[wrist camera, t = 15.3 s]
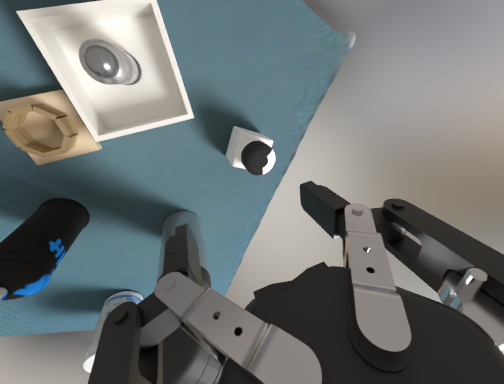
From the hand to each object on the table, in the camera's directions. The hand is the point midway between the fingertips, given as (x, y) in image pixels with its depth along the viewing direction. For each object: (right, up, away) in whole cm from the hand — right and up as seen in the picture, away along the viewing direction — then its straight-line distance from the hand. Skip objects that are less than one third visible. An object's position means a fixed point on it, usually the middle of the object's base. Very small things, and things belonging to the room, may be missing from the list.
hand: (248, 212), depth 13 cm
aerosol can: (-38, -3, +27) cm, 47 cm away
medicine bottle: (-2, +12, +32) cm, 35 cm away
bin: (-21, +21, +20) cm, 36 cm away
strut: (-21, +22, +19) cm, 35 cm away
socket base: (-34, +12, +20) cm, 41 cm away
